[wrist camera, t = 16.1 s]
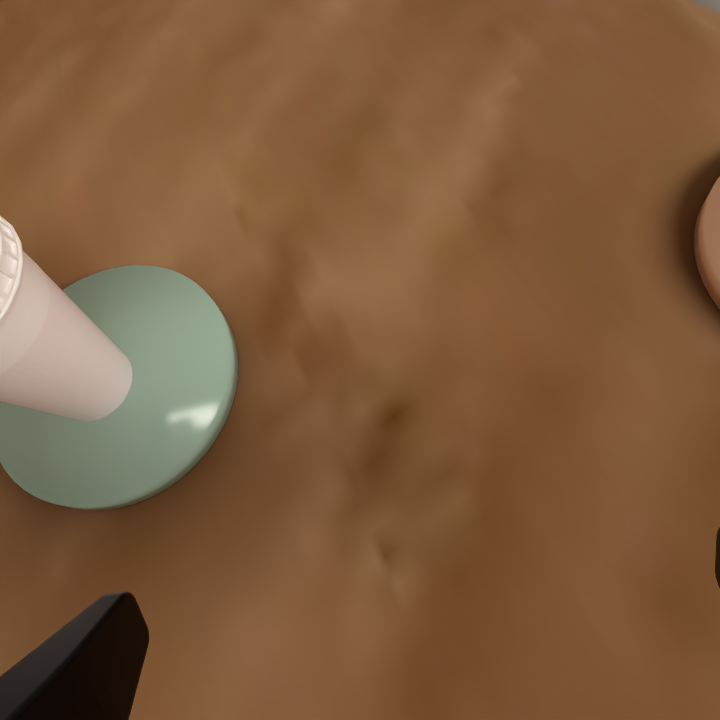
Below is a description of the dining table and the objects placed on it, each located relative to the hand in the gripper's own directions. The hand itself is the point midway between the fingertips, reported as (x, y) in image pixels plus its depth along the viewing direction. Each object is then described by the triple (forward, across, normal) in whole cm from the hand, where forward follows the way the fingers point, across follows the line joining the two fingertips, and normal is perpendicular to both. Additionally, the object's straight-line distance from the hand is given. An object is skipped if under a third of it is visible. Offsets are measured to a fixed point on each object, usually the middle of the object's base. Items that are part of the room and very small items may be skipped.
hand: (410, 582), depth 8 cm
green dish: (+17, +14, +2) cm, 22 cm away
